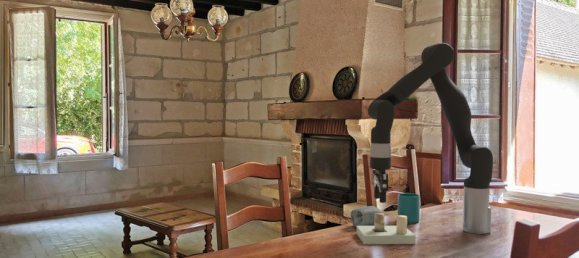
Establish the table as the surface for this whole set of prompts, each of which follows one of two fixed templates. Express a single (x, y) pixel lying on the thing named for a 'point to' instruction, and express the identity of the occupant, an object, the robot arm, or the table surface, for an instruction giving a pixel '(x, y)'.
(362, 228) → the seat board
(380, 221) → the peg
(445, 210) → the table surface
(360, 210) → the spool
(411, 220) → the cup
